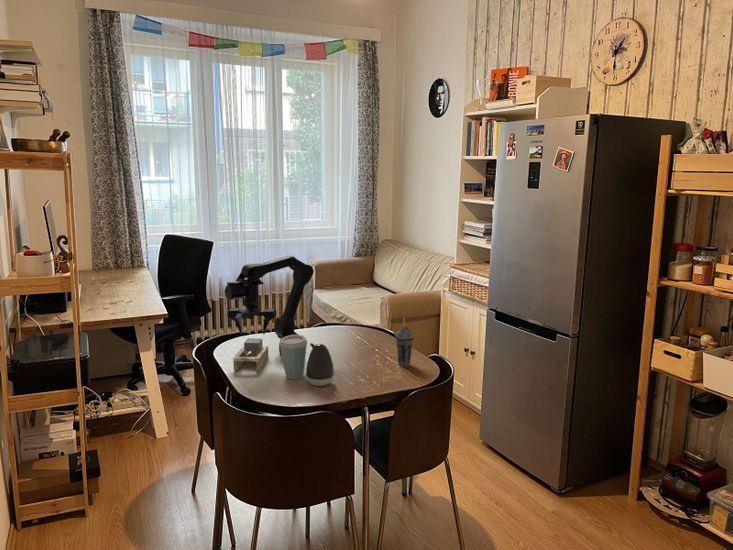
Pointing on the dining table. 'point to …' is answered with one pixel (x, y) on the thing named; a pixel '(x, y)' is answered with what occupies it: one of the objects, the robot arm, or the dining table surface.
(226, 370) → the dining table surface
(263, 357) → the keyhole board
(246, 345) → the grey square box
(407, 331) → the beverage cup
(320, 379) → the pump dispenser
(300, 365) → the disposable coffee cup
